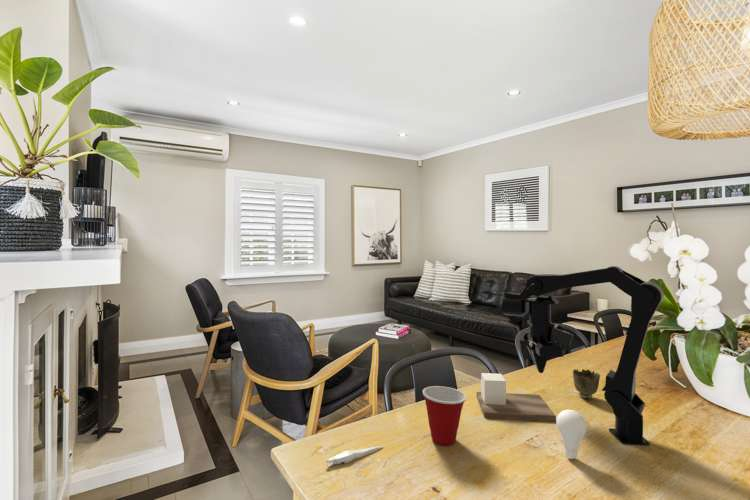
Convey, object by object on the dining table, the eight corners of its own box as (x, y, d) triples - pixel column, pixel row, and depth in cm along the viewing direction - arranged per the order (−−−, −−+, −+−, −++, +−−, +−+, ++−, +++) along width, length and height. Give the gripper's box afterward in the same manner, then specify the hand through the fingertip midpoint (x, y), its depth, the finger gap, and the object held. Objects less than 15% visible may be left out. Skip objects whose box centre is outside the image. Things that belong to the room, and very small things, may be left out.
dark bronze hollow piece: (592, 393, 121) (593, 368, 121) (604, 403, 114) (604, 377, 114) (568, 392, 122) (568, 368, 122) (578, 402, 114) (578, 376, 114)
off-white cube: (505, 404, 109) (505, 381, 109) (484, 403, 110) (484, 380, 110) (501, 396, 115) (501, 373, 115) (481, 395, 116) (481, 373, 116)
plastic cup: (476, 443, 91) (476, 394, 91) (442, 457, 86) (443, 405, 85) (445, 424, 101) (445, 380, 100) (413, 436, 95) (413, 389, 95)
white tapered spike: (328, 470, 81) (328, 461, 81) (323, 464, 83) (323, 455, 83) (386, 452, 89) (386, 444, 89) (380, 447, 91) (380, 440, 91)
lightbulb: (559, 448, 89) (560, 402, 89) (588, 457, 85) (589, 409, 85) (552, 459, 85) (553, 411, 84) (583, 470, 81) (583, 420, 80)
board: (555, 421, 103) (555, 415, 103) (484, 417, 105) (484, 412, 105) (539, 399, 116) (539, 394, 116) (476, 396, 119) (476, 392, 119)
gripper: (584, 325, 97) (585, 385, 98) (556, 312, 116) (557, 362, 116) (539, 325, 99) (540, 384, 99) (519, 312, 117) (520, 362, 117)
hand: (540, 372), depth 108 cm, fingers closed
